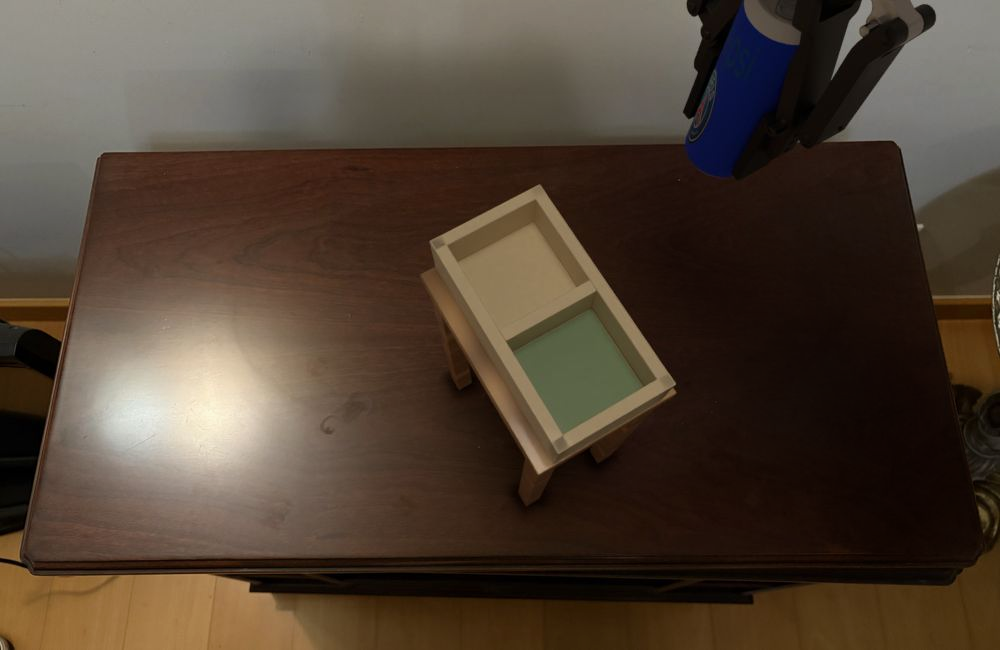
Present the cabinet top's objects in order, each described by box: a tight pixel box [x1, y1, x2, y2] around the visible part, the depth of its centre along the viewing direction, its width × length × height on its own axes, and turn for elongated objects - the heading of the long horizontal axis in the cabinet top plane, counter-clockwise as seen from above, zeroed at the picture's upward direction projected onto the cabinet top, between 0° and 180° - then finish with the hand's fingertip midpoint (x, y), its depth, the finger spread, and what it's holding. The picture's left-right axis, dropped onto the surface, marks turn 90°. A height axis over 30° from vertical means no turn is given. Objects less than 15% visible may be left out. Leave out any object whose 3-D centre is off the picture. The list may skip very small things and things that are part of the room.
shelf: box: [419, 266, 677, 507], centre depth 57 cm, size 15×10×26 cm, turn 30°
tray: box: [429, 184, 677, 464], centre depth 43 cm, size 15×8×4 cm, turn 30°
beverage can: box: [684, 0, 801, 178], centre depth 45 cm, size 5×5×15 cm
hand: (725, 137), depth 50 cm, fingers closed on beverage can, 5 cm apart
